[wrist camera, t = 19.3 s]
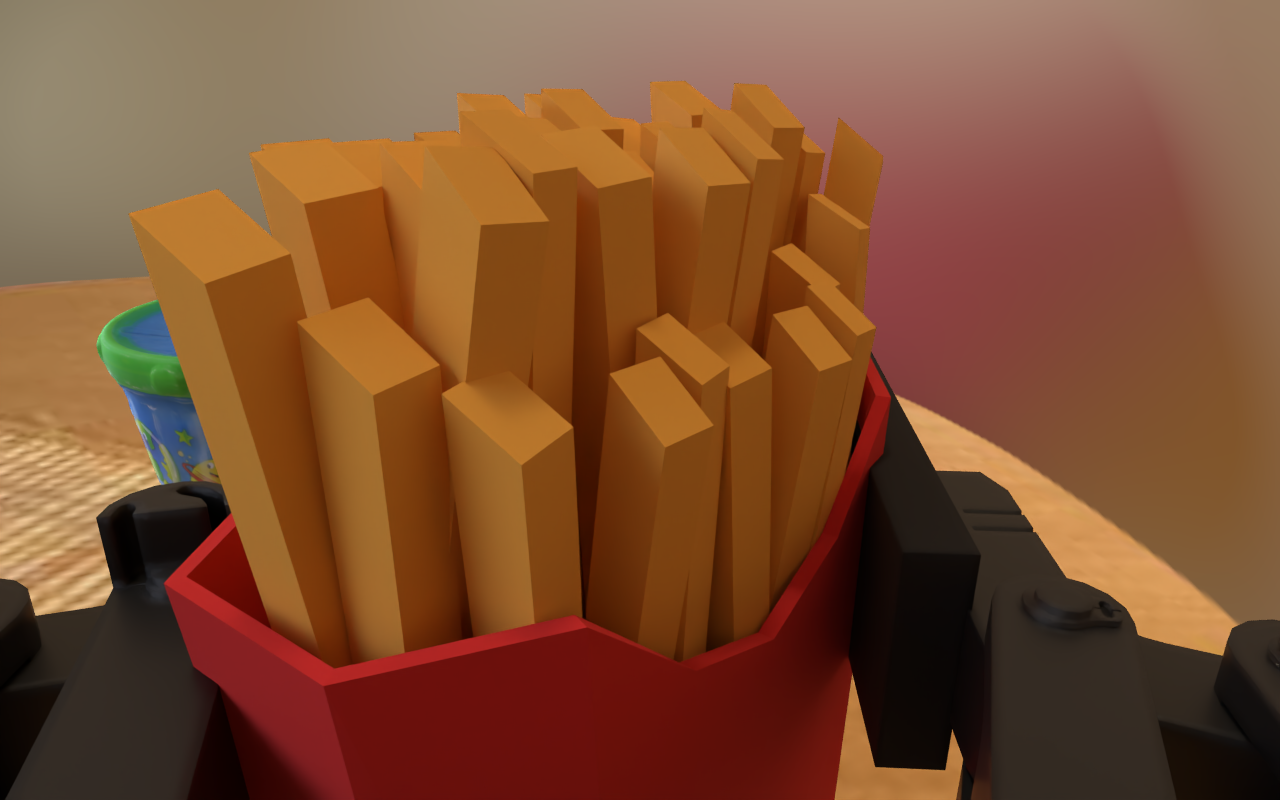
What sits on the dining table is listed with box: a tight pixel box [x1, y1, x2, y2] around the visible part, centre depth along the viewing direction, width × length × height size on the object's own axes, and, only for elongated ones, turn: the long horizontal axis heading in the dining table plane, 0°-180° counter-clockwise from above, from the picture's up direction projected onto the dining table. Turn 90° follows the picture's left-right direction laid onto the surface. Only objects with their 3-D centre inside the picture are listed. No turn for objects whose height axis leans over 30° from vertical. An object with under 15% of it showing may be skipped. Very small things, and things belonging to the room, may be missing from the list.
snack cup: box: [97, 300, 221, 485], centre depth 41 cm, size 16×10×10 cm
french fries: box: [129, 81, 891, 800], centre depth 11 cm, size 9×4×13 cm, turn 143°
